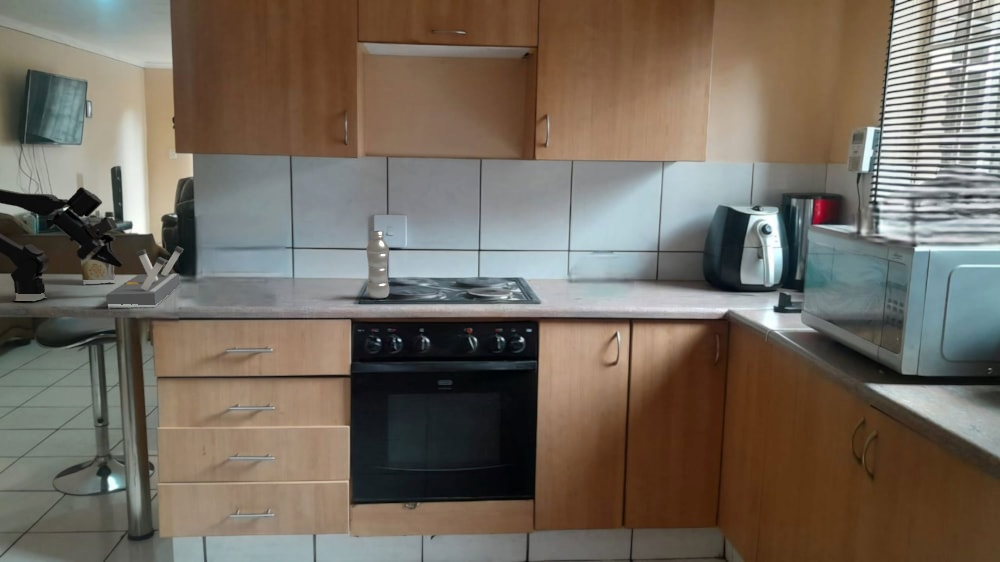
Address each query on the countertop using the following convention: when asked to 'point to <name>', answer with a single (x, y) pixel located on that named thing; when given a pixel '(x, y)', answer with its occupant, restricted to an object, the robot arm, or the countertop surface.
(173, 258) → the lever
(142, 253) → the lever
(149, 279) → the lever
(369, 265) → the plastic bottle
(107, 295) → the breaker panel
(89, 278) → the coffee box
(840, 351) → the countertop surface
